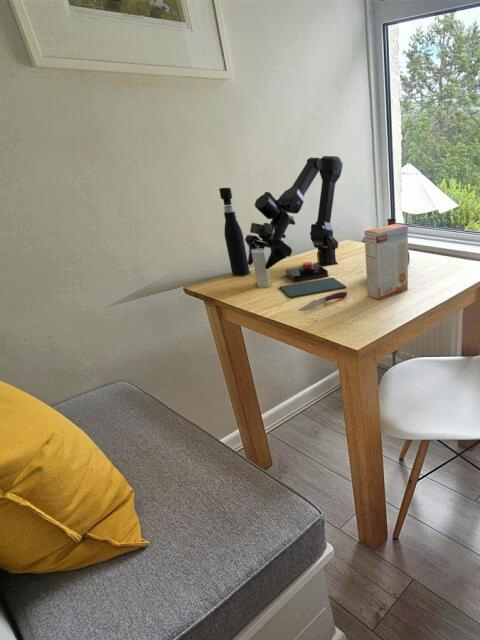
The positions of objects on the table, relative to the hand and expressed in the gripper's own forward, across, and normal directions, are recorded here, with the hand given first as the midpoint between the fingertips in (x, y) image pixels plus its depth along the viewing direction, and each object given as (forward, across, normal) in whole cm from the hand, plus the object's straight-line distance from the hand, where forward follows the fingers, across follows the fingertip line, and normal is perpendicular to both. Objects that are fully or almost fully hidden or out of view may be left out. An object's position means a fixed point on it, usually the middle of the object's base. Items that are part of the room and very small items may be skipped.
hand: (257, 266), depth 146 cm
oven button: (-9, +8, +14) cm, 18 cm away
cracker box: (-9, +42, +19) cm, 46 cm away
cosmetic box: (+4, 0, +6) cm, 7 cm away
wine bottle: (+1, -18, +9) cm, 20 cm away
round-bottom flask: (-20, +32, +30) cm, 48 cm away
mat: (-1, +17, +11) cm, 20 cm away
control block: (-8, +5, +17) cm, 20 cm away
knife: (+6, +32, +4) cm, 33 cm away
